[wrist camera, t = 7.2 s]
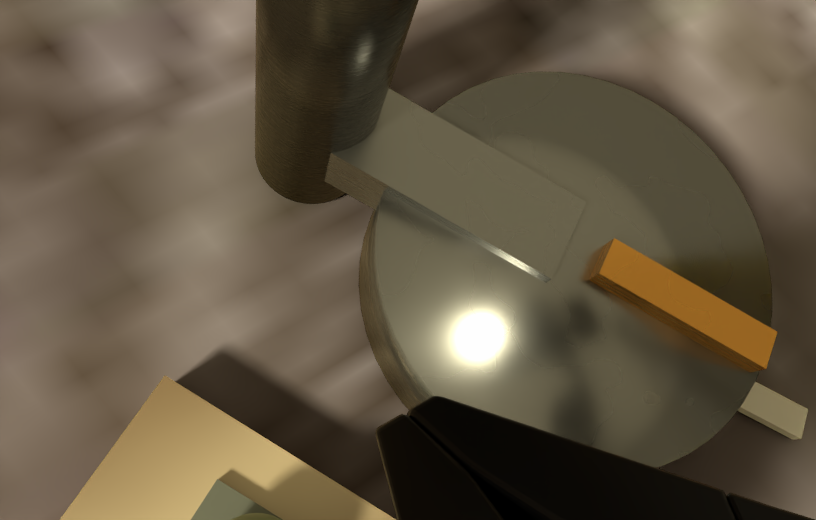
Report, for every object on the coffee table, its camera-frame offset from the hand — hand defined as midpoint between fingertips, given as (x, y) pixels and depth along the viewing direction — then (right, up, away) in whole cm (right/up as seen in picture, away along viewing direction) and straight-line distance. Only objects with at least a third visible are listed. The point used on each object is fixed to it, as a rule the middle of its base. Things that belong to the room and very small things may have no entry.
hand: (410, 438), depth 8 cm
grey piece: (+2, +2, +9) cm, 10 cm away
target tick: (+9, -2, +10) cm, 13 cm away
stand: (-2, -7, +5) cm, 9 cm away
